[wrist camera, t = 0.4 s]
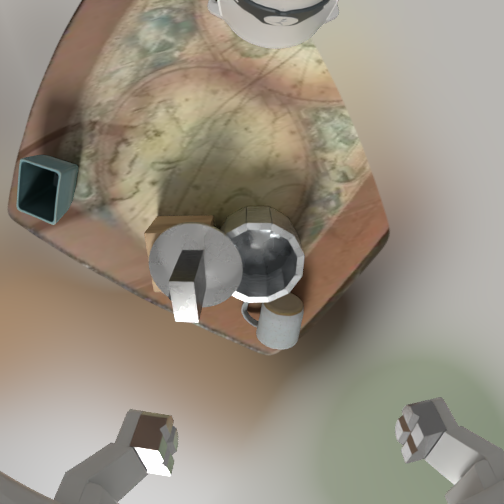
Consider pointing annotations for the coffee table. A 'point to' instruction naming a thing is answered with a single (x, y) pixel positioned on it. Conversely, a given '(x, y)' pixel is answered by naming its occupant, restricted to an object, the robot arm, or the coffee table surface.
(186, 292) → the lid
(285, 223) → the pot
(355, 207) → the coffee table surface
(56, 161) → the flower pot
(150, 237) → the tan block
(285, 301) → the ceramic mug
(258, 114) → the coffee table surface
